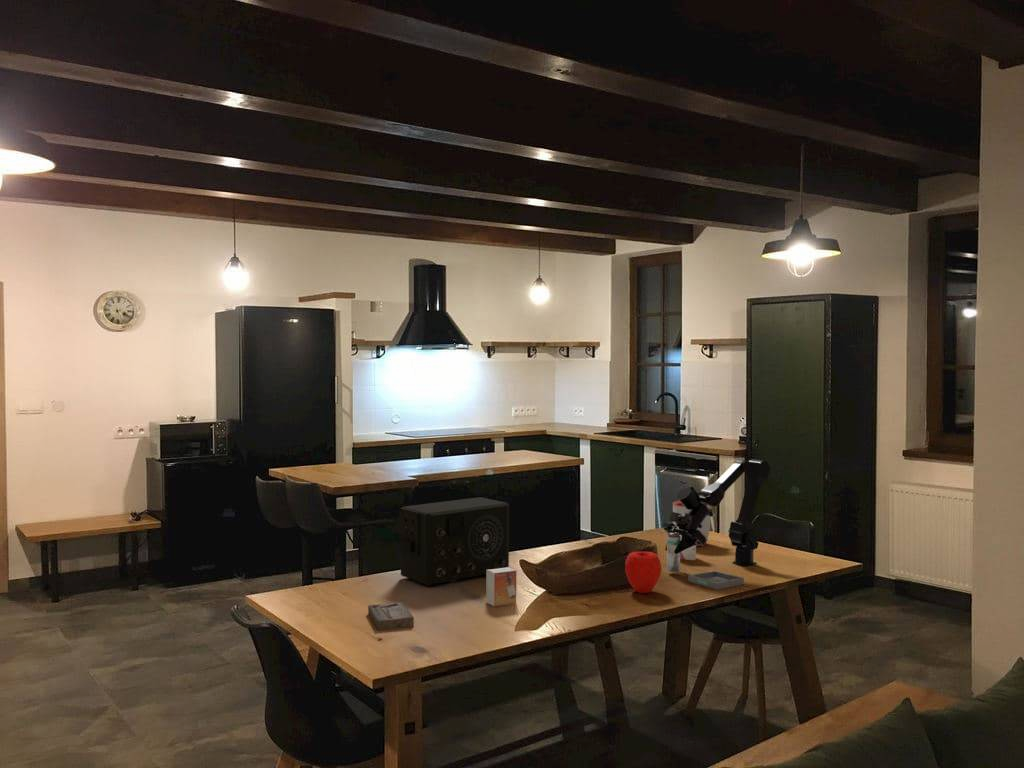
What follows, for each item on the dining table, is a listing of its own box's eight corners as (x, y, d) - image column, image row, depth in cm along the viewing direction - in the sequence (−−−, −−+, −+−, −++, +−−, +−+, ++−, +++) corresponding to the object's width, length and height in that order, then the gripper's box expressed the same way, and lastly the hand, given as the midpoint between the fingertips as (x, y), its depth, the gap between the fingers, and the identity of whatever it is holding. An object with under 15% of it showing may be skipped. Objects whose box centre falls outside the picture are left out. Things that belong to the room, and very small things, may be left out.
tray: (714, 576, 304) (714, 570, 304) (743, 584, 293) (743, 577, 293) (687, 581, 297) (688, 575, 297) (717, 590, 286) (717, 583, 286)
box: (377, 632, 242) (377, 621, 242) (367, 614, 259) (367, 604, 259) (414, 628, 246) (414, 617, 246) (403, 611, 262) (402, 601, 262)
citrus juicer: (719, 548, 350) (719, 498, 349) (676, 548, 349) (676, 498, 349) (709, 540, 365) (710, 492, 365) (668, 540, 365) (668, 493, 364)
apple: (653, 585, 291) (653, 546, 291) (667, 595, 280) (667, 553, 279) (619, 588, 288) (620, 547, 288) (633, 597, 277) (633, 555, 277)
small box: (493, 607, 266) (493, 573, 265) (485, 602, 271) (485, 569, 270) (516, 603, 269) (516, 570, 269) (508, 599, 274) (508, 566, 274)
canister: (673, 567, 311) (673, 531, 310) (683, 570, 307) (683, 533, 306) (664, 569, 308) (664, 533, 307) (673, 572, 304) (673, 535, 304)
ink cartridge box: (673, 559, 330) (673, 521, 329) (672, 556, 334) (672, 518, 334) (696, 560, 329) (696, 521, 328) (694, 557, 334) (695, 519, 333)
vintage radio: (426, 591, 284) (426, 515, 283) (395, 579, 299) (394, 507, 299) (515, 573, 308) (515, 503, 307) (481, 563, 323) (481, 496, 322)
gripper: (666, 499, 317) (641, 532, 312) (699, 507, 300) (674, 542, 295) (683, 519, 321) (659, 552, 316) (717, 527, 304) (692, 562, 299)
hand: (670, 551), depth 306 cm, fingers closed on canister, 5 cm apart
